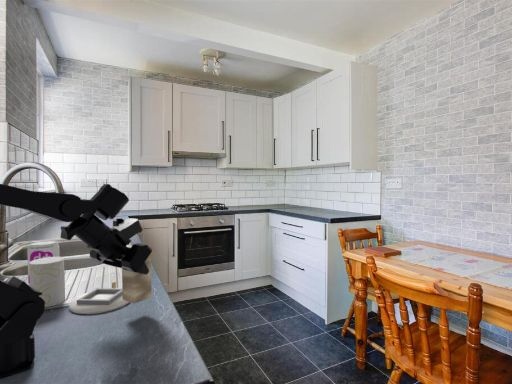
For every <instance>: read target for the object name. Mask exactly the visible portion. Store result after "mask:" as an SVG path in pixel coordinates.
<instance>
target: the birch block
mask: <svg viewBox="0 0 512 384" xmlns="http://www.w3.org/2000/svg"><path fill="white" fill-rule="evenodd" d="M129 247H130V248H131V247H132V246H129ZM151 255H152V253H151V254H150V255H149V257H148V258H147V259H146V261H145V264H146V266H147V267H148V269H149V272H148V274H147V275H146V274H141V273H136V272H131V271H127V270H124V269H123V268H124V267H122V268H121V280H122V281H121V282H122V283H121V285H122V286H121V287H122V293H123V300H125V301H128V302H129V303H131V304H137V303H140V302H143V301H146V300H149V299H151V298H152V297H153V296H152V294H153V293H152V292H153V291H152V263H151V262H152V258H151Z"/></svg>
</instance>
